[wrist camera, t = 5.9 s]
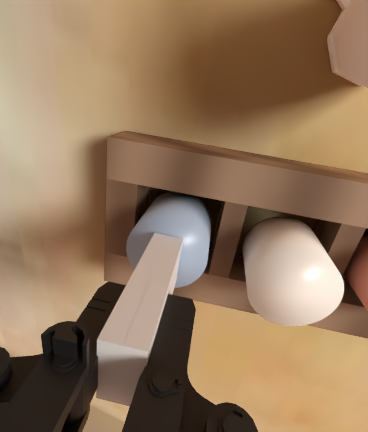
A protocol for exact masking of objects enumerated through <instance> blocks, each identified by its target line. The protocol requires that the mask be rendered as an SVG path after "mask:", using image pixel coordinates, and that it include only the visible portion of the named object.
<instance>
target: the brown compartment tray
mask: <svg viewBox="0 0 368 432" xmlns="http://www.w3.org/2000/svg"><path fill="white" fill-rule="evenodd" d="M149 187H153V188H158V189H163V190H169V191H174V192H179V193H184V194H190V195H195V196H200V197H205V198H211V199H216V200H221V201H222V204H221V209H220V213H219V217H218V222H217V226H216V231H215V235H214V240H213V244H212V249H211V250H209V253H208V261H207V265H206V268H205V270H204V272H203V273H202V275H201V276H200V277H199V278H198V279H197V280H196V281H194V282H193V283H191V284H189V285H187V286H183V287H179V288H174V291H173V294H172V295H177V296H181V297H186V298H190V299H192V300H195V301H200V302H205V303H209V304H214V305H218V306H223V307H227V308H232V309H236V310H241V311H245V312H250V313H255V314H258V313H257V312H256V311H255V310H254V309H253V307H252V306H251V304H250V302H249V299H248V295H247V286H246V276H245V267H244V258H243V257H241V256H236V255H235V252H236V249H237V245H238V241H239V238H240V234H241V230H242V227H243V223H244V219H245V216H246V212H247V208H248V206H253V207H258V208H263V209H268V210H273V211H279V212H284V213H289V214H294V215H300V216H305V217H310V218H315V219H317V222H316V224H315V227H314V229H313V232H314V234H315V235H316V237H317V238H318V240H319V241H320V243H321V245H322V246H323V248H324V249H325V251H326V252H327V254H328V255H329V257H330V258H331V260H332V262H333V263H334V265H335V266H336V268H337V269H338V271H339V272H340V274H341V276H342V275H343V273H344V271H345V269H346V267H347V265H348V263H349V261H350V259H351V257H352V255H353V253H354V251H355V249H356V247H357V245H358V243H359V241H360V239H361V237H362V235H363V233H364V231H365V229H366V228H368V174H367V173H362V172H356V171H350V170H345V169H339V168H333V167H328V166H322V165H316V164H311V163H305V162H299V161H294V160H288V159H282V158H277V157H271V156H265V155H260V154H254V153H248V152H243V151H237V150H231V149H226V148H220V147H214V146H209V145H203V144H197V143H191V142H186V141H180V140H174V139H169V138H163V137H157V136H152V135H146V134H140V133H135V132H129V131H124V132H121V133H118V134H115V135H112V136H109V137H107V173H106V220H105V268H104V280H105V281H110V282H114V283H119V284H123V285H127V283H128V281H129V279H130V277H131V275H132V274H133V272H134V269H133V268H132V266H131V264H130V262H129V260H128V257H127V252H126V244H127V240H128V237H129V235H130V233H131V231H132V230H133V228H134V227H135V226H136V224H137V223H138V221H139V220H140V219H141V217H142V216H143V214H144V213H145V212H146V210H147V207H148V196H149ZM342 279H343V282H344V294H343V298H342V300H341V302H340V304H339V305H338V307H337V308H336V309H335V310H334V311H333V312H332V313H331V314H330V315H328V316H327V317H325V318H324V319H322V320H320V321H317V322H315V323H312V324H308V325H309V326H314V327H318V328H323V329H327V330H332V331H336V332H341V333H345V334H350V335H355V336H359V337H364V338H368V311H367V310H366V308H365V307H364V305H363V304H362V302H361V301H360V299H359V298H358V296H357V295H356V293H355V292H354V290H353V289H352V287H351V286H350V284H349V283H348V281H347V279H346V278H343V277H342Z"/></svg>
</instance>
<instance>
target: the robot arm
mask: <svg viewBox="0 0 368 432" xmlns="http://www.w3.org/2000/svg"><path fill="white" fill-rule="evenodd" d="M182 243H183V239H182V238H177V237H172V236H167V235H163V234H158V233H154V235H153V237H152V238H151V240H150V242H149V244H148V246H147V248H146V250H145V251H144V253H143V255H142V257H141V259H140V261H139V262H138V264H137V266H136V268H135V270H134V272H133V274H132V275H131V277H130V279H129V281H128V283H127V285H123V284H119V283H114V282H110V281H109V282H107V283H106V284H104V285H103V286H101V287H100V288H98V290H97V291H96V293H95V294H94V296H93V297H92V300H90V302H89V303H88V305H87V307H86V308H85V309H84V311H83V312H82V314H81V315H80V317H79V318H78V320H77V321H76V322H72V321H66V322H61V323H57V324H55V325H53V326H51V327H49V328H48V329H47V330H46V331H45V332H44V333H42V334H41V339H42V348H43V354H40V355H34V356H23V357H10V355H9V353H8V352H7V351H6V350H5V348H1V347H0V432H82V431H83V428H84V426H85V424H86V421H87V419H88V415H89V411H90V402H91V400H92V398H93V396H94V393H95V391H96V389H97V391H96V398H99V399H103V400H107V401H111V402H115V403H119V404H123V405H127V406H130V408H129V411H128V414H127V417H126V421H125V424H124V427H123V430H122V432H258V430H257V428H256V426H255V423H254V421H253V419H252V418H251V417H250V415H249V414H248V413H247V412H246V411H245V410H244V409H243V408H241V407H239V406H238V405H236V404H233V403H228V402H225V403H221V404H217V405H214V404H213V403H211V402H210V401H208V400H207V399H205V398H204V397H202V396H201V395H200V394H199V393H197V392H196V390H195V389H194V388H193V387H192V385H191V383H190V381H189V378H188V374H187V365H188V358H189V351H190V344H191V338H192V330H193V324H194V317H195V310H196V309H195V306H194V303H193V300H192V299H190V298H186V297H181V296H177V295H172V294H173V291H174V287H175V284H176V279H177V273H178V267H179V261H180V255H181V249H182Z"/></svg>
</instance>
